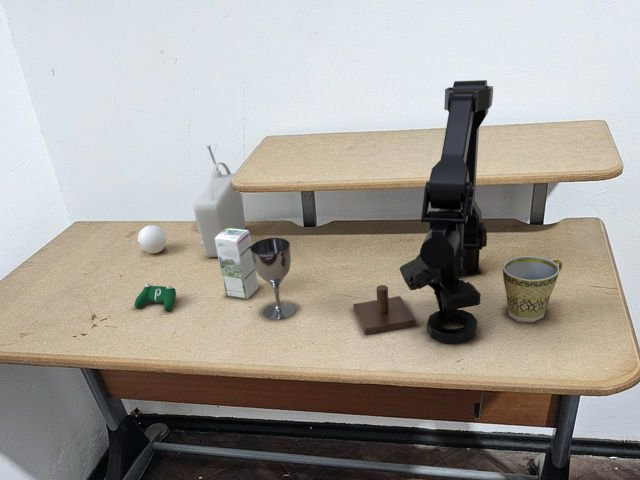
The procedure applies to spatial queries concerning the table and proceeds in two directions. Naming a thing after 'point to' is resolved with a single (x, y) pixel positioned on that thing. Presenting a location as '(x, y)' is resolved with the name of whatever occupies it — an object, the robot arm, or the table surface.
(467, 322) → the ring
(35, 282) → the table surface
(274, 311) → the silver metal goblet
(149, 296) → the gaming controller
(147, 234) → the white light bulb
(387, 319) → the peg stand
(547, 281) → the ceramic cup
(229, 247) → the syrup box
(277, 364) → the table surface
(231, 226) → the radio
